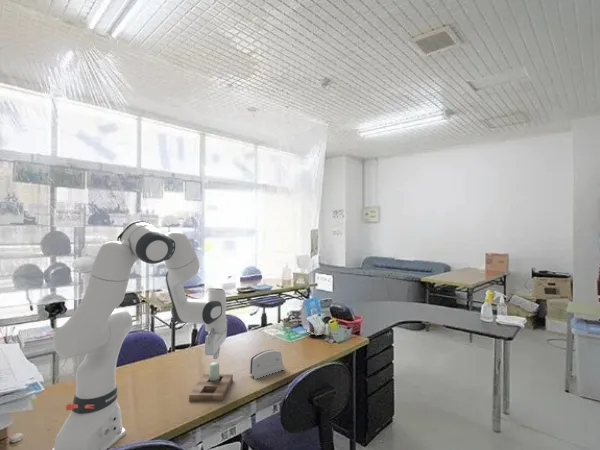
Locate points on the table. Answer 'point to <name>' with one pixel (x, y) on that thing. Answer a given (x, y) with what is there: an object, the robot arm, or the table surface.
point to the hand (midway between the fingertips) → (216, 357)
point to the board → (211, 388)
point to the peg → (214, 372)
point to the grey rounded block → (266, 363)
